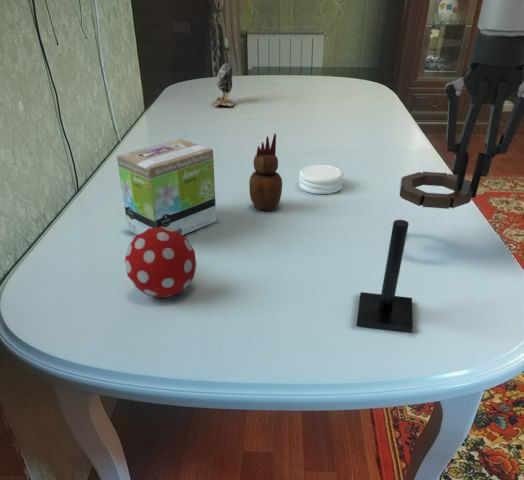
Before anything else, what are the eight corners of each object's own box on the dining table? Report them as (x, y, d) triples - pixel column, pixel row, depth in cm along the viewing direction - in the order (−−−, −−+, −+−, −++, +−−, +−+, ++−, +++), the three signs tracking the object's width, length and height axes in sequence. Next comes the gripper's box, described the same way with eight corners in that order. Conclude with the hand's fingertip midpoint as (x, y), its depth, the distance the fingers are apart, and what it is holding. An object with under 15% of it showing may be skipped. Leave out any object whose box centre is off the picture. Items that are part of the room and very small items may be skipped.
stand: (411, 302, 80) (430, 212, 70) (411, 332, 74) (433, 238, 64) (359, 297, 81) (372, 208, 72) (356, 326, 75) (369, 233, 66)
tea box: (159, 248, 94) (148, 168, 85) (127, 231, 99) (113, 155, 90) (218, 222, 103) (214, 147, 93) (186, 208, 108) (178, 136, 99)
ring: (466, 184, 91) (468, 174, 89) (472, 210, 82) (475, 199, 81) (400, 180, 93) (401, 170, 91) (399, 205, 84) (401, 194, 83)
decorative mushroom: (138, 211, 86) (144, 215, 73) (197, 240, 90) (213, 249, 77) (112, 270, 88) (113, 285, 74) (171, 296, 92) (182, 314, 78)
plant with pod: (240, 101, 179) (238, 35, 166) (231, 109, 171) (228, 40, 158) (218, 99, 181) (214, 34, 168) (208, 107, 172) (203, 39, 159)
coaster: (345, 194, 113) (347, 179, 111) (301, 195, 113) (302, 180, 111) (337, 178, 121) (339, 163, 119) (296, 179, 121) (297, 164, 118)
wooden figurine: (283, 203, 110) (285, 131, 100) (278, 214, 105) (279, 139, 96) (253, 200, 111) (252, 128, 101) (247, 211, 107) (245, 137, 97)
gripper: (554, 28, 73) (507, 188, 88) (447, 27, 75) (419, 183, 90) (567, 36, 67) (514, 206, 82) (451, 34, 70) (420, 199, 85)
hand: (464, 193), depth 86 cm, fingers closed on ring, 2 cm apart
